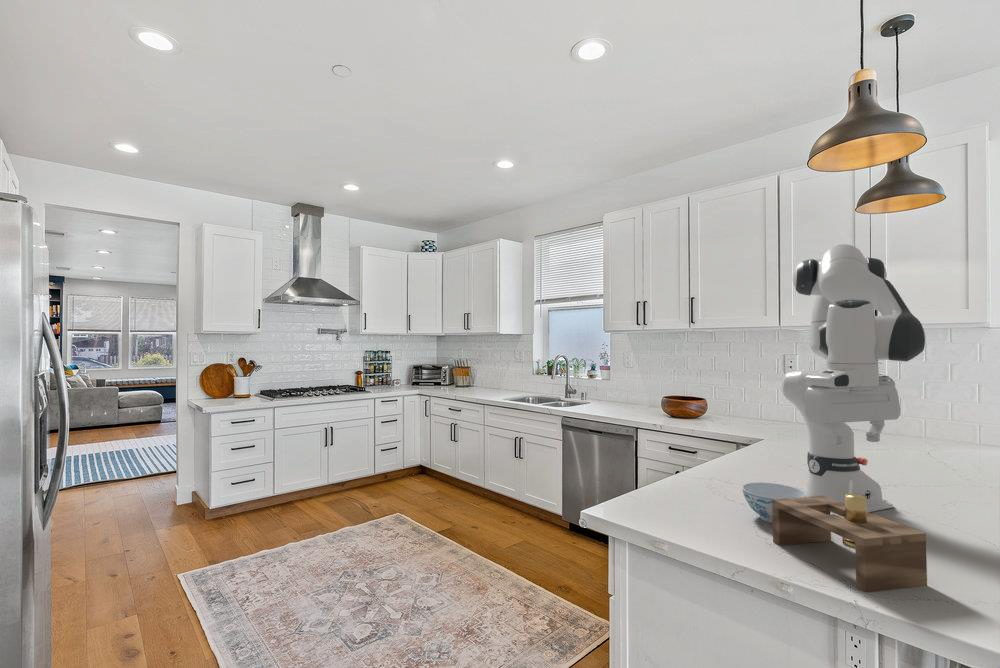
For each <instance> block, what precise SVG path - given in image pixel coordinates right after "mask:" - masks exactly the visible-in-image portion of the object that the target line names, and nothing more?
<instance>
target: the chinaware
mask: <svg viewBox="0 0 1000 668" xmlns="http://www.w3.org/2000/svg"><path fill="white" fill-rule="evenodd" d="M741 490H742V494H743V497H744V499H745V501H746V503H747V505H748V506H749V507H750V508H751V509H752V510H753V511H754V512H755V513H756V514H758V515H759V518H760V519H761V520H762V521H764V522H766V523H771V524H773V514H772V499H784V498H798V497H806V493H805V491H803V490H802V489H800V488H797V487H795V486H790V485H784V484H781V483H780V484H779V483H775V482H774V483H772V482H748V483H745V484H743V485H742V488H741Z"/></svg>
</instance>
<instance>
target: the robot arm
mask: <svg viewBox="0 0 1000 668" xmlns="http://www.w3.org/2000/svg"><path fill="white" fill-rule="evenodd" d="M887 274H888V273H887V269H886V267H885V263H884V262H883V261H882V259H879V258H875V257H865V256H864V254H863V253H862V251H861V250H860V249H858V247H856V246H854V245H852V244H845V243H844V244H837V245H834V246H832V247H830V248H828V249H827V250H826V251H825V252H824V254H823V255H822V257H821V258H818V259H813V258H811V259H807V260H802V261H801V262H799V263H798V264H797V265H796V267H795V269H794V271H793V274H792V283H793V286H794V288H795V291H796V292H797V293H798V294H800V295H804V296H809V297H810V296H811V295H813V296H815V298H814V301H813V302H814V303H813V308H812V312H811V318H810V319H811V320H810V336H809V337H810V338H809V348H810V350H811V351H812V352H813V353H814V354H815V355H817V356H819V357H821V358H823V359H825V360H826V367H824V368H822V369H810V368H809V369H807V368H806V369H798V370H792V371H789V372H788V373H786V374H785V375H784V377H783V379H782V383H781V390H782V394H783V396H784V397H785V399H786V400H787V401H788V402H790V403H791V404H793V406H795V407H796V409H797V410H798V411H799V412H800V414H801V416H802V417H803V419H804V423H805V425H806V428H807V435H808V436H807V437H808V452H807V455H806V458H807V459H806V460H807V461H806V463H807V467H808V471H807V481H806V485H805V486H806V487H805V491H804V492H805V493H806V497H812V496H825V497H828V498H831V499H834V500H836V501H839V502H842V503H845V494H858V495H862V496H865V497H866V509H867V512H869V513H873V512H878V511H882V510H887V509H892V508H894V505H893V504H894V503H892V502H891V501H890V500H886V499H884V498H883V493H882V487H881V485H880V484H879V482H878V481H875V480H874V479H873V478H872V477H871V476H869V475H868V474H866V473H865V472H864V471H863V470H862V469H861V466H860V465H862V466H867V465H868V461H869V460H868V459H867V458H863V457H856V455H855V433H854V431H853V429H852V427H850V425H848V423H858V422H869V425H871V426H870V429H869V431H868V432H865V435H866V441H868V442H871V443H877V442H880V441H881V439H880V437H881V436H880V435H881V433H882V432H883V429H884V428H885V421H891V420H893V421H894V420H895V421H896V420H898V419H899V418H900V416H901V404H900V398H899V393H898V390H897V388H896V383H895V381H894V379H893V378H891V377H890V376H889V375H879V373H880V372H879V360H880V361H881V360H882V361H883V360H884V361H885V360H886V361H896V362H909V361H911V360H913V359H914V358H916V357H918V356H919V355H920V354H922V353H923V352H924V351H925V346H926V338H927V337H926V332H925V329H924V327H923V325H922V322H921V321H920V320H919V319H918V318H917V317H916V316H915V315H914V314H912V311H910V309H909V308H908V306H907V305H906V303H905V301H904V299H903V298H902V297H901V295H900V294H899V291H898V290H897V289H896V288H895V286H894V285H893V284H892V282H891V281H890V280H889V279H887V276H888V275H887ZM875 311H876V312H877V311H878V312H879V313H880V314H881V315H876V314H875Z"/></svg>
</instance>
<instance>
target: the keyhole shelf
mask: <svg viewBox="0 0 1000 668" xmlns="http://www.w3.org/2000/svg"><path fill="white" fill-rule="evenodd" d="M831 513H833V514H831ZM772 514H773V523H772V543H775V544H776V545H778V546H784V545H785V546H787V545H795V544H806V543H807V544H808V543H818V542H829V541H832V533H833V534H835V535H838V536H840V537H844V538H846V539H848V540H850V541H853V542H855V549H854V550H855V584H856V585H855V587H856V588H857V589H859V590H860V591H863V592H865V593H871V592H879V591H881V592H882V591H888V590H889V591H890V590H897V589H898V590H899V589H906V588H915V587H923V586H928V566H927V565H928V564H927V534H926V532H924V531H921V530H918V529H916V528H913V527H910V526H908V525H904V524H902V523H899V522H897V521H894V520H890V519H889V518H888V519H887V518H886V517H883V516H880V515H877V514H874V513H873V512H867V523H854V522H850V521H848V520H846V519H845V503H842V502H839V501H836V500H834V499H831V498H828V497H825V496H812V497H798V498H784V499H772Z"/></svg>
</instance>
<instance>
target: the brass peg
mask: <svg viewBox="0 0 1000 668" xmlns="http://www.w3.org/2000/svg"><path fill="white" fill-rule="evenodd" d="M844 518H845V519H846V520H848V521H850V522H854V523H867V509H866V497H865V496H862V495H858V494H845V517H844ZM842 544H843V546H846V547H847V548H850V549H853V550H855V542H853V541H850V540H848V539H846V538H844V537H842Z"/></svg>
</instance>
